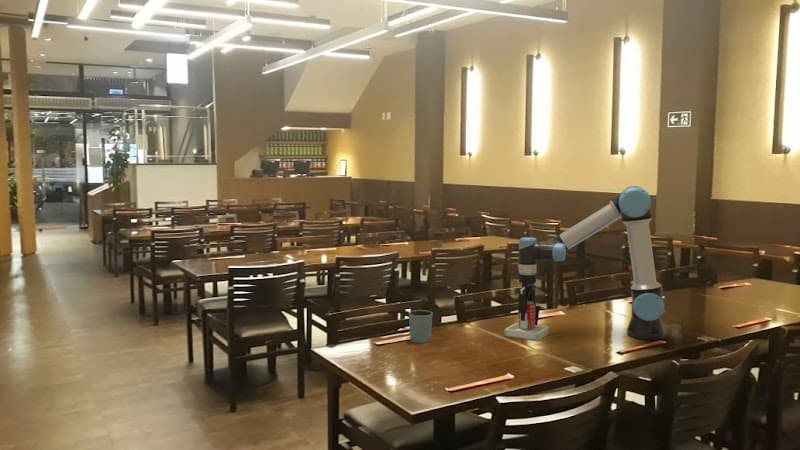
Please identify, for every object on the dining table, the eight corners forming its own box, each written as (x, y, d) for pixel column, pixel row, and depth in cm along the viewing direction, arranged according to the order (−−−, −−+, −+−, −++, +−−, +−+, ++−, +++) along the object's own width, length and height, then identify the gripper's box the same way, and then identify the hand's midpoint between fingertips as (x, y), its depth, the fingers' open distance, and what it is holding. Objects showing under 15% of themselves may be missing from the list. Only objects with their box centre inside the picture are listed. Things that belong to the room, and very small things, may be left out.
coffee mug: (539, 328, 292) (540, 306, 291) (520, 327, 293) (520, 306, 292) (539, 322, 303) (539, 301, 302) (520, 321, 305) (521, 300, 304)
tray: (549, 333, 283) (549, 326, 283) (537, 341, 271) (537, 334, 271) (516, 329, 291) (516, 322, 291) (504, 336, 279) (504, 329, 279)
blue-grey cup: (420, 335, 281) (420, 308, 280) (437, 340, 274) (437, 312, 273) (403, 340, 274) (403, 312, 273) (421, 345, 267) (421, 316, 266)
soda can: (516, 327, 284) (516, 300, 283) (532, 327, 285) (532, 300, 284) (521, 331, 277) (521, 304, 276) (537, 331, 278) (537, 303, 277)
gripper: (527, 269, 289) (527, 320, 291) (510, 276, 272) (509, 329, 274) (543, 270, 285) (543, 322, 287) (527, 277, 268) (526, 332, 270)
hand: (527, 325), depth 281 cm, fingers closed on soda can, 7 cm apart
